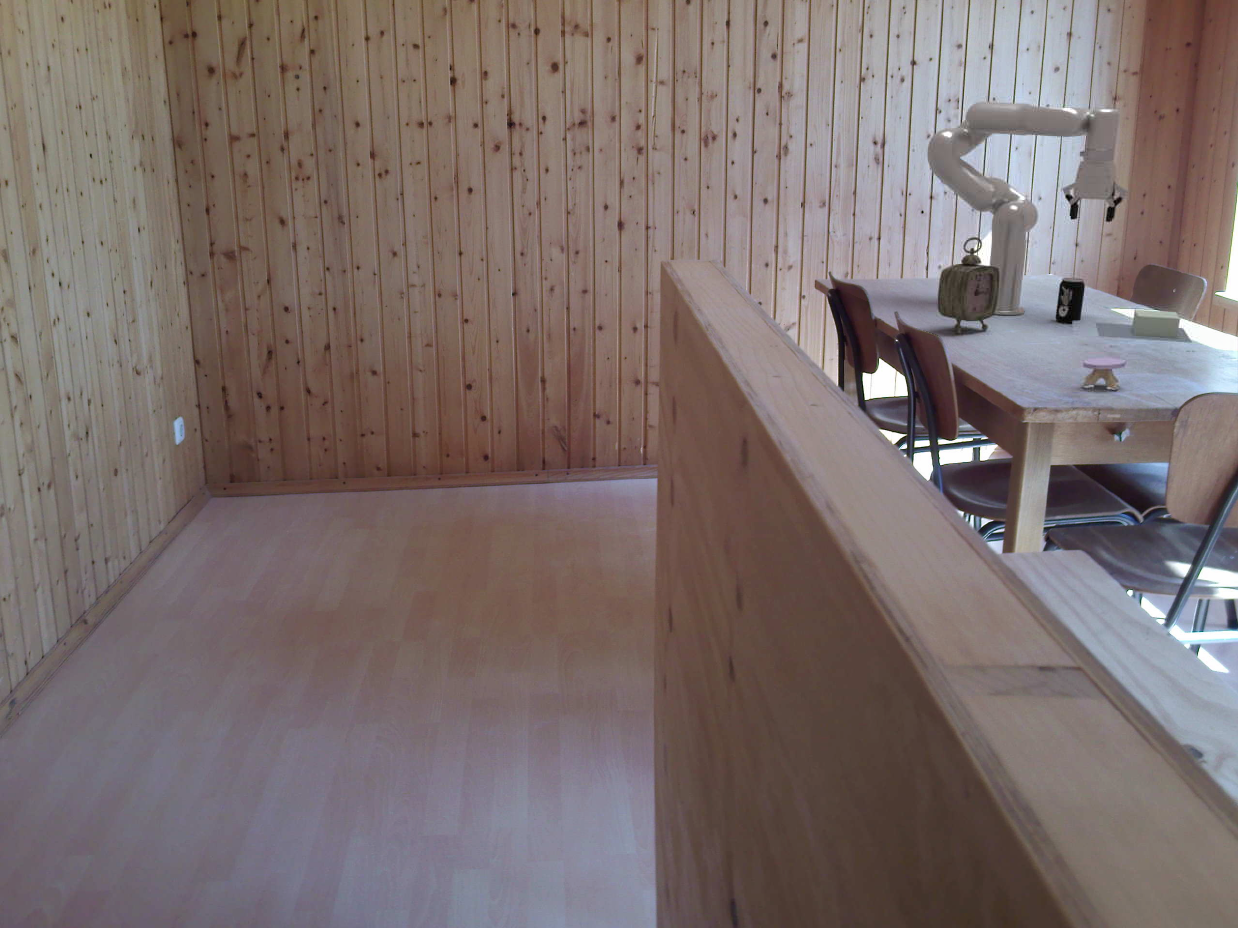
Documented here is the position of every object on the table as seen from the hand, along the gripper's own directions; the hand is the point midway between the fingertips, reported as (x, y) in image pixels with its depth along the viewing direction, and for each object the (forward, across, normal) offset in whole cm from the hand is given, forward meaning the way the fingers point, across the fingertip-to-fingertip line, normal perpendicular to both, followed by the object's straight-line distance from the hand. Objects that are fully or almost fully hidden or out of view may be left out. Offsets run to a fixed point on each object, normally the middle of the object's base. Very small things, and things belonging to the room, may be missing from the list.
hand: (1091, 220), depth 311 cm
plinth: (+27, +24, -10) cm, 37 cm away
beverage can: (+28, -1, -5) cm, 29 cm away
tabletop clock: (+28, -17, -37) cm, 50 cm away
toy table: (+28, +34, -75) cm, 87 cm away
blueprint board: (+28, +21, -11) cm, 36 cm away
